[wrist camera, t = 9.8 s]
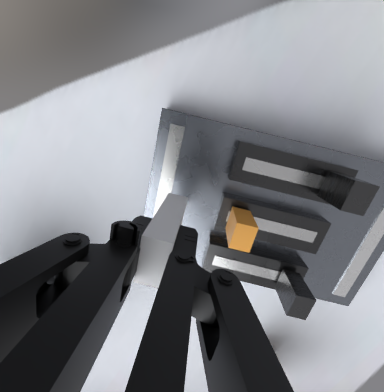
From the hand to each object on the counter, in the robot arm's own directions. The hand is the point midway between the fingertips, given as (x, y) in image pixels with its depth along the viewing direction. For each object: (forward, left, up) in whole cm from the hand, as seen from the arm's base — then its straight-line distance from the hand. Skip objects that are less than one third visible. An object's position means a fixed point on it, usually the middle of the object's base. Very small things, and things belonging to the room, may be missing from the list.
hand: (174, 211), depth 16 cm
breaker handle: (0, +5, -1) cm, 5 cm away
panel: (0, +8, -5) cm, 9 cm away
